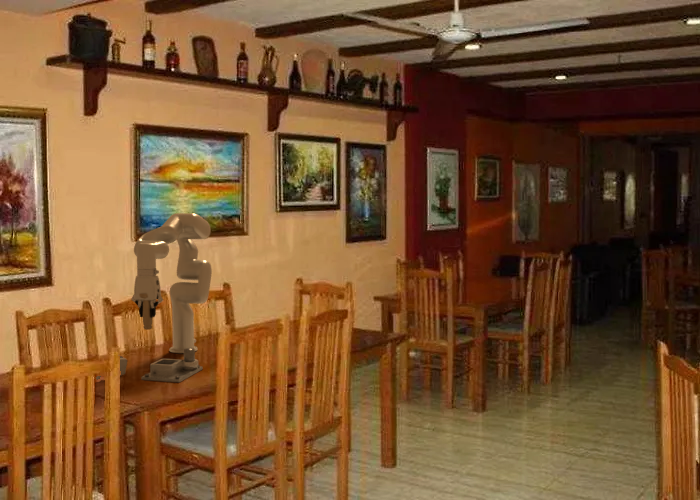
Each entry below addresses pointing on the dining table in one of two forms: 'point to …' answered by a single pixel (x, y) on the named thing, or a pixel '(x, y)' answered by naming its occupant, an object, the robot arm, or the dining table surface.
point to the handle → (146, 312)
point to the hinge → (122, 366)
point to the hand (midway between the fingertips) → (147, 316)
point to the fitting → (174, 368)
